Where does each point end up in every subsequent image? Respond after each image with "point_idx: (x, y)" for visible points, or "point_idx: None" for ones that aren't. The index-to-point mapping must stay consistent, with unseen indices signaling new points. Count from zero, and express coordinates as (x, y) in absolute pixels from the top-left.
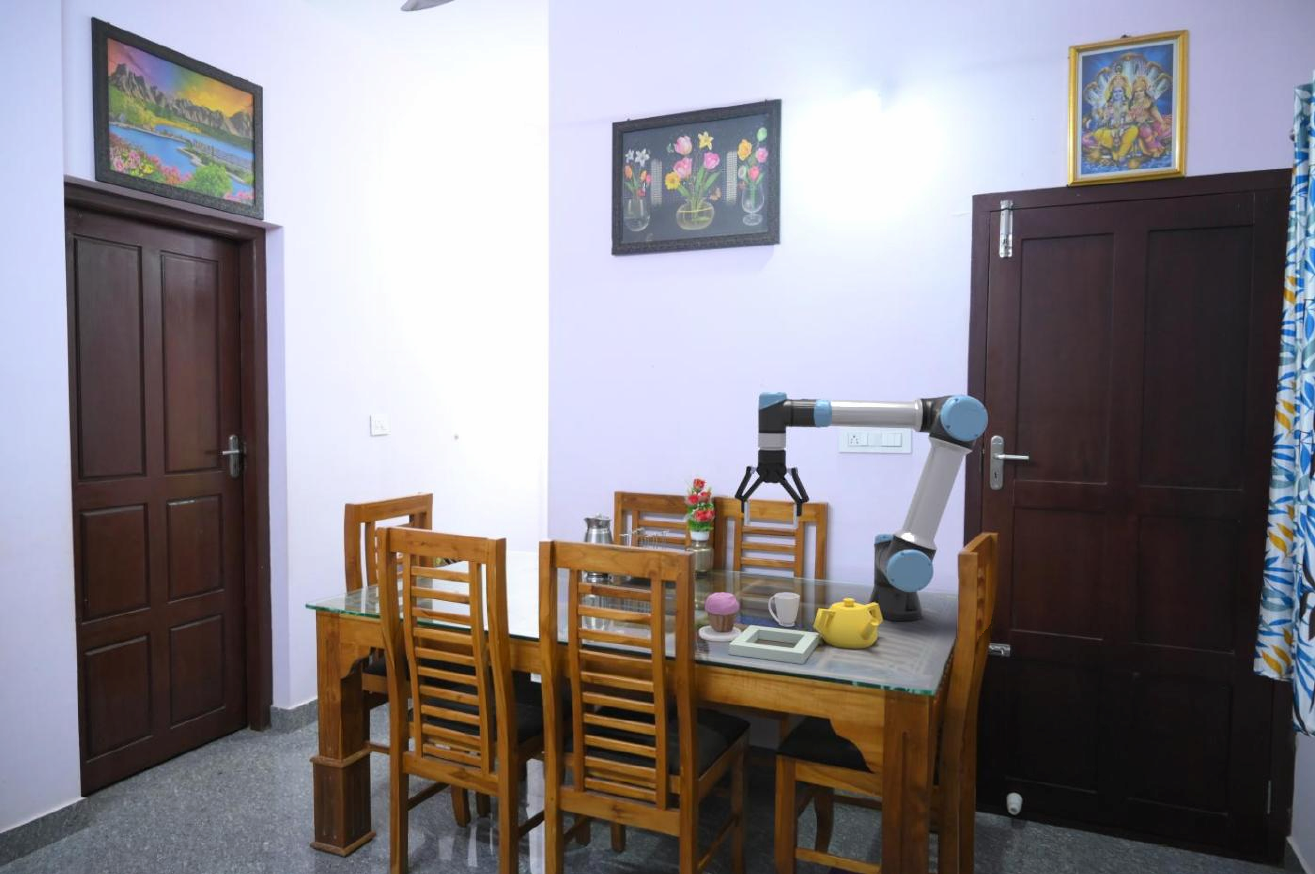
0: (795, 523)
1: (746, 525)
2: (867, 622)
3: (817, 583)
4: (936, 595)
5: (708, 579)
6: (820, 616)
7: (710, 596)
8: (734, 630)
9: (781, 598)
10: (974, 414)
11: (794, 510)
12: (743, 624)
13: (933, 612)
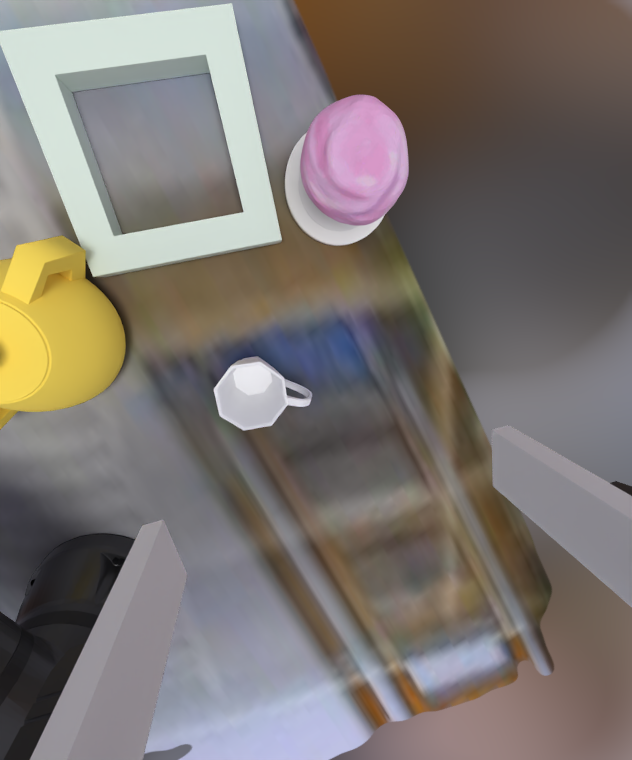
0: (129, 557)
1: (496, 429)
2: None
3: (348, 660)
4: None
5: (536, 559)
6: (37, 243)
7: (393, 117)
8: (309, 207)
9: (250, 362)
10: None
11: (84, 686)
12: (334, 313)
13: None
